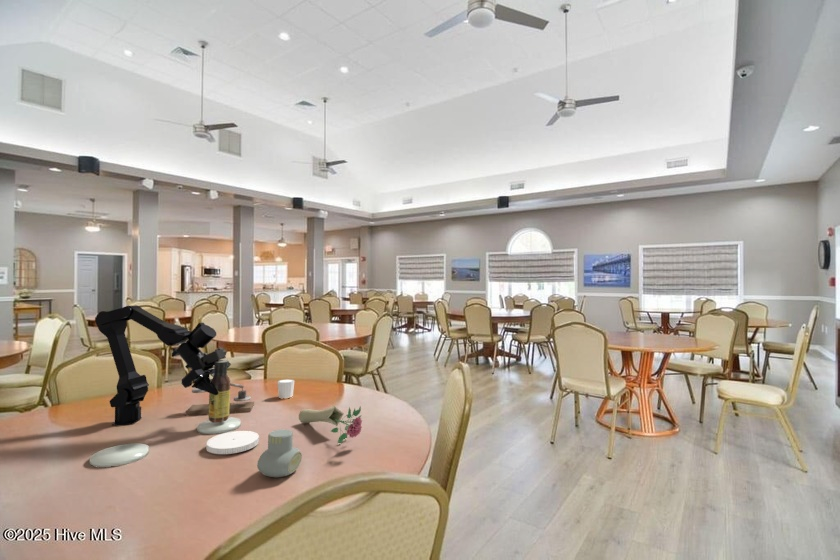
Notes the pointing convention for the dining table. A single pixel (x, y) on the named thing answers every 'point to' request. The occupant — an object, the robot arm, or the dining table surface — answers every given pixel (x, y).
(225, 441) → the plastic lid
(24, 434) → the dining table surface
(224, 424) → the dish right
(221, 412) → the sauce bottle
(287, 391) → the white short cylinder
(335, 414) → the flower vase
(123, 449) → the dish left
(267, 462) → the air freshener
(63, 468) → the dining table surface
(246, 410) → the balance scale
